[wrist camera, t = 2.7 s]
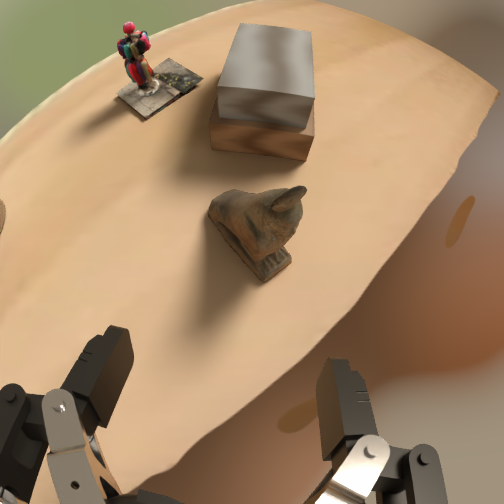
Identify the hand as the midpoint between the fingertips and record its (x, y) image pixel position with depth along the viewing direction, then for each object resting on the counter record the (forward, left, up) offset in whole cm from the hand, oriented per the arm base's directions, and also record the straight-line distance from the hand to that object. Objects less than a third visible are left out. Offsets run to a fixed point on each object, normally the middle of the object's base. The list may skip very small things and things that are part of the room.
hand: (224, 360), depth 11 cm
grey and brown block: (0, +32, -18) cm, 37 cm away
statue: (-17, +35, -18) cm, 43 cm away
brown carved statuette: (0, +12, -18) cm, 22 cm away
